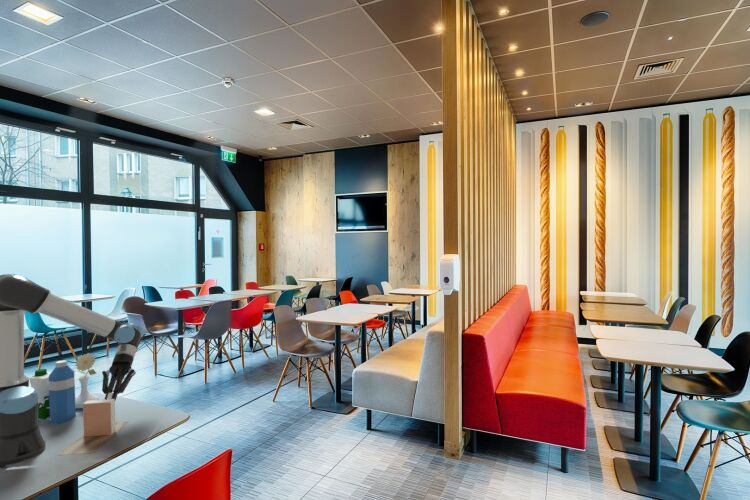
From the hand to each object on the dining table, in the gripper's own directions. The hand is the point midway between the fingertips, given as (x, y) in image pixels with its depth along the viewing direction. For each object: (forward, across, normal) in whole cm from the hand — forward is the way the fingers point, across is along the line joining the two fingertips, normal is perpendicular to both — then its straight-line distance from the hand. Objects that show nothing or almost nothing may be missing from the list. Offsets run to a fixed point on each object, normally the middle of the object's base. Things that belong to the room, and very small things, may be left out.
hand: (106, 409), depth 162 cm
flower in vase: (-14, +22, -27) cm, 38 cm away
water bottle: (-5, +25, -18) cm, 31 cm away
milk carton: (-9, +35, -22) cm, 42 cm away
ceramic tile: (+9, +1, -3) cm, 9 cm away
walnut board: (+11, +1, -1) cm, 11 cm away
